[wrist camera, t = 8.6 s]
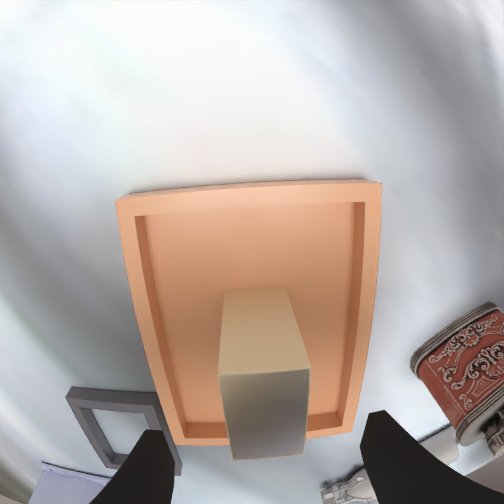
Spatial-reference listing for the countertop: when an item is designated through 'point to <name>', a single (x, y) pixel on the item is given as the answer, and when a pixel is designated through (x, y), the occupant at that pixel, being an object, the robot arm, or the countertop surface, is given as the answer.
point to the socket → (120, 402)
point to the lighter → (468, 375)
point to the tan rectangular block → (263, 375)
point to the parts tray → (252, 287)
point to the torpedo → (360, 485)
